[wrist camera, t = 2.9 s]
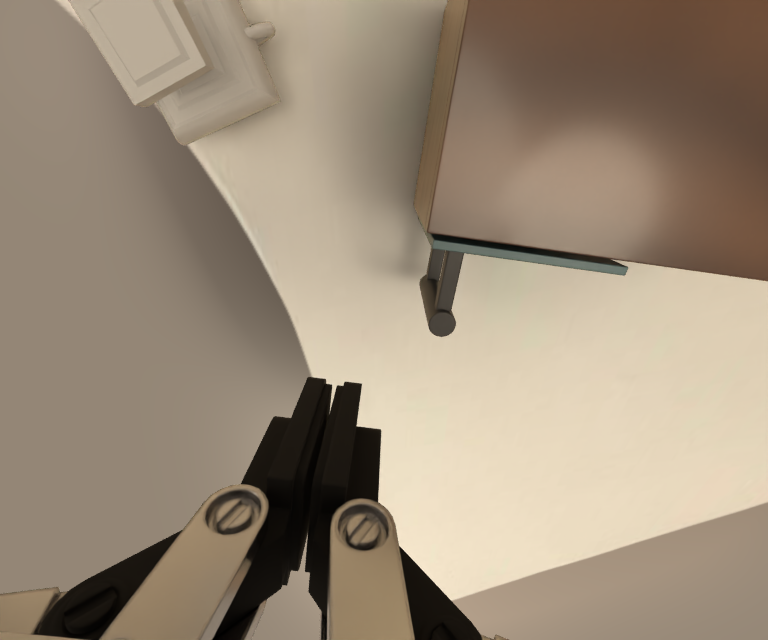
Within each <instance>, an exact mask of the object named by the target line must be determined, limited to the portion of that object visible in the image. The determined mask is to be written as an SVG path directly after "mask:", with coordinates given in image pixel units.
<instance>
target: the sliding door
mask: <svg viewBox="0 0 768 640" xmlns="http://www.w3.org/2000/svg"><path fill="white" fill-rule="evenodd" d="M418 219H419V221H420V223H421V225H422V227H423V229H424V232H425V234H426V236H427V238H428V240H429V242H430V245H431V252H430V258H429V263H428V268H427V274H426V275H425V276H423V277H422V278H421V280H420V290H421V294H422V299H423V304H424V308H425V313H426V317H427V322H428V326H429V330H430V331H431V332H432V333H433V334H434V335H436V336H440V337H443V336H447V335H449V334H451V333H452V332H453V330H454V329H455V326H456V321H455V318H454V316H453V313H452V311H451V309H452V305H453V300H454V296H455V291H456V287H457V282H458V278H459V273H460V269H461V264H462V260H463V256H464V253H467V254H474V255H481V256H489V257H496V258H503V259H510V260H517V261H524V262H531V263H538V264H546V265H553V266H560V267H567V268H574V269H581V270H588V271H595V272H603V273H610V274H617V275H625V274H626V272H627V270H628V267H626V266H624V265H622V264H620V263H617V262H615V261H613V260H611V259H607V258H600V257H593V256H586V255H579V254H572V253H565V252H558V251H551V250H544V249H537V248H530V247H523V246H516V245H508V244H501V243H494V242H487V241H480V240H473V239H466V238H459V237H452V236H445V235H438V234H431V233H427V231H426V229H425V228H424V226H423V224H422V222H421V220H420V218H419V216H418ZM445 250H446V251H445ZM444 254H445V256H444ZM443 259H444V261H443ZM442 264H443V266H442ZM441 268H442V271H441ZM440 273H441V276H440ZM439 278H440V280H439Z"/></svg>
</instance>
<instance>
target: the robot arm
mask: <svg viewBox="0 0 768 640" xmlns="http://www.w3.org/2000/svg"><path fill="white" fill-rule="evenodd" d="M361 387H362V384H359V383H351V382H345V383H344V386H338V385H337V388H336V392H335V396H334V400H333V403H332V407H331V411H330V403H331V392H332V385H330V384H326V379H320V378H313V377H308V378H307V380H306V383H305V385H304V388H303V390H302V393H301V395H300V398H299V400H298V402H297V405H296V408H295V410H294V412H293V415H292V418H285V417H277V416H275V417H273V419H272V421H271V423H270V425H269V427H268V429H267V431H266V433H265V435H264V437H263V439H262V441H261V443H260V445H259V447H258V450H257V452H256V454H255V456H254V458H253V460H252V462H251V464H250V466H249V468H248V470H247V472H246V474H245V476H244V479H243V481H242V483H241V484H239V485H231V486H228V487H225V488H222V489H220V490H218V491H217V492H215V493H214V494H212V495H211V496H210V497H209V498H208V499H207V500H206V501H205V502H204V503H203V504H202V505H201V507H200V508H199V509H198V511H197V512H196V513H195V515H194V516H193V517H192V519H191V520H190V521H189V522H188V524H187V525H186V526H185V528H184V529H183V530H181V531H180V532H177V533H176V534H174V535H172V536H170V537H168V538H166V539H164V540H162V541H160V542H158V543H156V544H154V545H152V546H150V547H148V548H146V549H145V550H143V551H141V552H139V553H137V554H135V555H133V556H131V557H129V558H127V559H125V560H123V561H121V562H119V563H118V564H116V565H114V566H112V567H110V568H108V569H106V570H104V571H102V572H100V573H98V574H96V575H95V576H92V577H91V578H88V579H87V580H85V581H83V582H82V583H80V584H78V585H77V586H76V587H74V588H72V589H71V590H69V591H67V592H60V591H59V588H58V587H53V588H45V589H36V590H28V591H20V592H12V593H4V594H0V640H251V639H252V637H253V635H254V632H255V630H256V628H257V625H258V623H259V621H260V618H261V616H262V614H263V611H264V608H265V604H266V601H267V599H268V598H269V597H270V596H272V595H273V594H274V593H276V592H277V591H278V590H280V589H281V587H282V585H287V583H288V579H289V575H290V572H291V570H293V571H298V570H299V567H300V564H301V559H302V555H303V551H304V547H305V542H306V538H307V534H308V540H307V552H306V565H305V572H310V580H309V593H310V595H311V596H312V598H313V599H314V601H315V602H316V603H317V605H318V607H319V608H320V609H321V615H320V640H509V639H506V638H503V637H501V636H498V635H495V637H494V639H491V638H488V637H486V636H483V635H481V634H480V633H479V632H478V631H477V629H476V628H475V627H474V625H473V624H472V622H471V621H470V620H469V619H468V618H467V617H466V616H465V615H464V614H463V613H462V612H461V611H460V610H459V609H458V608H457V606H456V605H454V604H453V602H452V601H451V600H450V599H449V598H448V597H447V596H446V595H445V594H444V593H443V592H442V591H441V590H440V588H439V587H438V586H437V585H436V584H435V583H434V582H433V581H432V580H431V579H430V578H429V577H428V576H427V575H426V574H425V573H424V571H423V570H422V569H421V568H420V567H419V566H418V565H417V564H416V563H415V562H414V561H413V560H412V559H411V558H410V557H409V556H408V555H407V553H406V552H405V551H404V550H403V549H402V548H401V547H400V546H399V543H398V538H397V532H396V526H395V523H394V520H393V517H392V515H391V514H390V512H389V511H388V510H387V509H386V508H385V507H384V506H382V505H381V504H380V503H378V490H379V468H380V446H381V429H373V428H365V427H357V426H356V425H357V417H358V410H359V402H360V395H361ZM329 413H330V415H329Z"/></svg>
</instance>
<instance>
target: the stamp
mask: <svg viewBox="0 0 768 640" xmlns="http://www.w3.org/2000/svg"><path fill="white" fill-rule="evenodd" d="M68 1H69V2H70V4H71V6H72V7H73V9H74V10H75V12H76V14H77V15H78V17H79V18H80V20H81V21H82V23H83V25H84V26H85V28H86V29H87V31H88V33H89V34H90V36H91V37H92V39H93V40H94V42H95V44H96V45H97V47H98V49H99V50H100V52H101V53H102V55H103V56H104V58H105V60H106V61H107V63H108V64H109V66H110V68H111V69H112V71H113V72H114V74H115V76H116V77H117V79H118V80H119V82H120V84H121V85H122V87H123V88H124V90H125V92H126V93H127V95H128V96H129V98H130V99H131V101H132V102H133V104H134V106H141V107H148V106H150V105H152V104H154V103H155V102H156V103H157V105H158V107H159V108H160V110H161V112H162V114H163V116H164V118H165V120H166V122H167V123H168V125H169V127H170V129H171V131H172V133H173V135H174V137H175V138H176V140H177V141H178V142H179V144H182V145H184V146H185V145H187V144H189V143H191V142H194V141H196V140H198V139H200V138H202V137H205V136H207V135H209V134H211V133H213V132H216V131H218V130H220V129H222V128H224V127H226V126H229V125H231V124H233V123H235V122H237V121H240V120H242V119H244V118H246V117H248V116H250V115H253V114H255V113H257V112H259V111H261V110H264V109H266V108H268V107H270V106H272V105H274V104H277V103H279V102H281V100H280V98H279V95H278V93H277V91H276V88H275V86H274V83H273V81H272V79H271V76H270V74H269V72H268V69H267V67H266V64H265V62H264V60H263V57H262V55H261V52H260V50H259V48H258V46H260V45H261V44H263V43H264V42H266V41H267V40H269V39H271V38H272V37H273V36H274V35H275V32H276V31H275V28H274V26H273V25H272V23H270V22H264V23H257V24H254V25H253V26H251V27H250V26H249V24H248V21H247V19H246V17H245V14H244V12H243V10H242V7H241V5H240V2H239V0H68Z"/></svg>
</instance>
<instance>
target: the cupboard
mask: <svg viewBox="0 0 768 640" xmlns="http://www.w3.org/2000/svg"><path fill="white" fill-rule="evenodd" d="M414 207H415V209H416V211H417V213H418V216H419V218H420V220H421V222H422V224H423V226H424V228H425V229H426V231H427V233H431V234H438V235H445V236H452V237H459V238H466V239H473V240H480V241H487V242H494V243H501V244H508V245H516V246H523V247H530V248H537V249H544V250H551V251H558V252H565V253H572V254H579V255H586V256H593V257H600V258H607V259H614V260H621V261H628V262H635V263H642V264H650V265H657V266H664V267H671V268H678V269H685V270H692V271H699V272H706V273H713V274H720V275H727V276H734V277H741V278H748V279H755V280H762V281H768V0H448V2H447V5H446V8H445V11H444V17H443V24H442V30H441V36H440V42H439V49H438V55H437V61H436V67H435V73H434V80H433V86H432V92H431V98H430V105H429V111H428V117H427V123H426V130H425V136H424V142H423V148H422V154H421V161H420V167H419V173H418V179H417V186H416V192H415V198H414Z"/></svg>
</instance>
